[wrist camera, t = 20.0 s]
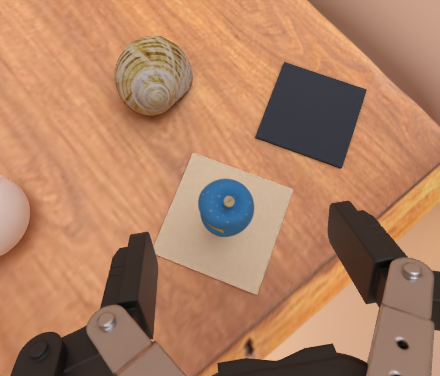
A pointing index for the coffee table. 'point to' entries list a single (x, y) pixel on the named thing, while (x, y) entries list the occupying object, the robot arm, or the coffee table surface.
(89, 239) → the coffee table surface
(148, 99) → the seashell
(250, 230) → the cream mat
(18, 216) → the ornament
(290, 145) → the slate mat
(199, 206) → the ornament
